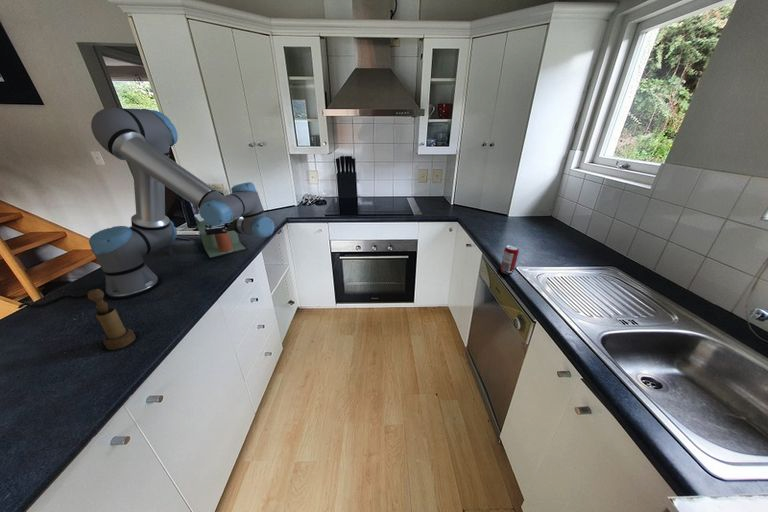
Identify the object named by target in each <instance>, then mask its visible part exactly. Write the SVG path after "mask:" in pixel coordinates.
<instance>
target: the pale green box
mask: <svg viewBox="0 0 768 512" xmlns="http://www.w3.org/2000/svg"><path fill="white" fill-rule="evenodd" d="M193 217H194V219H195V222H196V226H197V229H198V232H199V235H200V238H201V242H202V244H203V248H204V250H205V252H206V254H207V255H208V257H209V258H214V257H218V256H223V255H227V254H231V253H233V252H238V251H242V250H246V249H247V248H246V247H245V246H244V245H243V244H242V243H241V242H240V238H239V233H237V232H235V231H229V234H230V238H231V242H232V246H233V249H232V250H231V251H228V252H219V250H218V247H217V243H216V240H215V236H214V234H213V235H207V234H206V232H205V230H204V229H206V227H205V225H209V224H207V223H206V222H205V221H204V219H203V218H202V217H201V215H200V214H199V213H197V214H194V216H193ZM231 221H233V220H231ZM231 221H230V222H231ZM222 225H223V224H222ZM228 225H229V224H228ZM211 226H212V225H211Z"/></svg>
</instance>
